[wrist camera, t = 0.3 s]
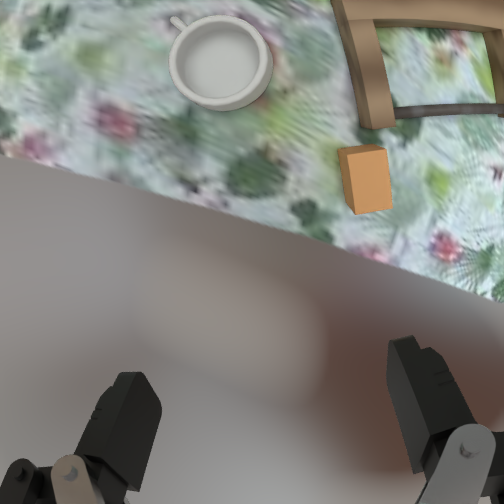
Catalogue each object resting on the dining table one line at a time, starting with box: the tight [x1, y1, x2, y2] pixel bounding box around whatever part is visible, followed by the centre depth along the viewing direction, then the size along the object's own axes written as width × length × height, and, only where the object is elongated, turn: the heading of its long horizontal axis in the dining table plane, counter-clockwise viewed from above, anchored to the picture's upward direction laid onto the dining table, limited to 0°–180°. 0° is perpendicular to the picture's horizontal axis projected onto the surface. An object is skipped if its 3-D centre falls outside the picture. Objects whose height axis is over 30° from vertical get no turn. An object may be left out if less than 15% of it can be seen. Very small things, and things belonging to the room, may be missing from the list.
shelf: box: [330, 0, 504, 129], centre depth 24 cm, size 19×22×4 cm
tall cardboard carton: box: [338, 144, 393, 215], centre depth 31 cm, size 6×4×4 cm, turn 13°
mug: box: [168, 15, 273, 111], centre depth 26 cm, size 12×10×6 cm
